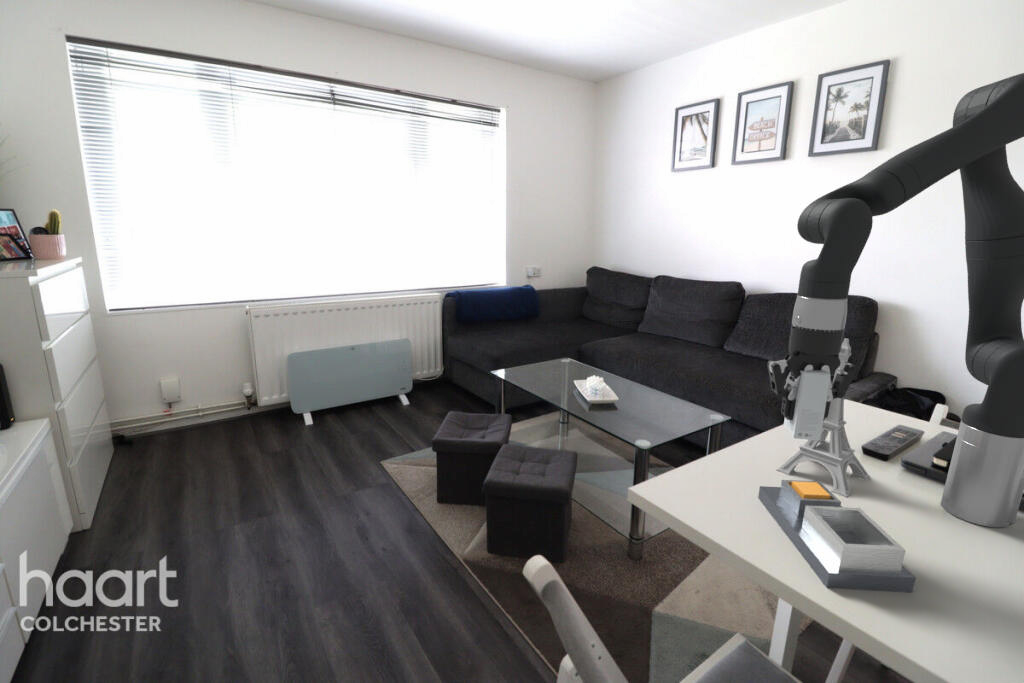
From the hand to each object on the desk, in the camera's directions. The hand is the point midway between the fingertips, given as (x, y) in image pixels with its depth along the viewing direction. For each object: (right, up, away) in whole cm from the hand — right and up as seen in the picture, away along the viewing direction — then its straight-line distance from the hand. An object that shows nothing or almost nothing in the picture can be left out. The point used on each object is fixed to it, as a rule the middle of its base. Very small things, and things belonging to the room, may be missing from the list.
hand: (803, 418), depth 84 cm
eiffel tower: (+16, -15, +20) cm, 29 cm away
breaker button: (+3, -16, +3) cm, 16 cm away
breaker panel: (+2, -20, -2) cm, 20 cm away
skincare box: (0, -3, +1) cm, 3 cm away
